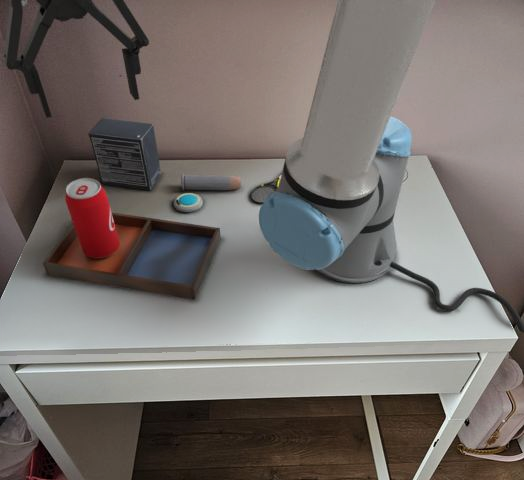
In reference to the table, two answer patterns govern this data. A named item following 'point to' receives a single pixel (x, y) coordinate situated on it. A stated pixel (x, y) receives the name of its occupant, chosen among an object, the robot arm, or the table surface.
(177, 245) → the sorting tray
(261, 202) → the tennis racket
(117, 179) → the small box
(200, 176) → the grey two-tone cylinder
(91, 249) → the beverage can
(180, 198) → the button
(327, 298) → the table surface
